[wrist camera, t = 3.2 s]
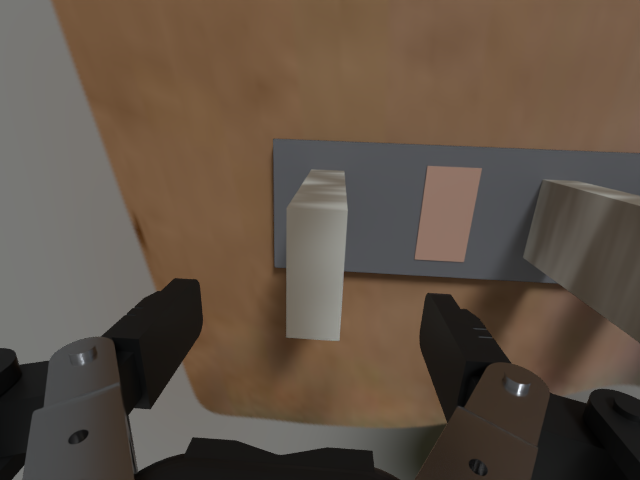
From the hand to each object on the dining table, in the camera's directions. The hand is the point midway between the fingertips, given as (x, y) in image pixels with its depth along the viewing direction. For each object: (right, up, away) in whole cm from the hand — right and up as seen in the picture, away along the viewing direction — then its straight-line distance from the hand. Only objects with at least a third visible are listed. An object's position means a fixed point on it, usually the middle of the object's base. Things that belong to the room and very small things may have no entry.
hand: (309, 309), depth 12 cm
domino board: (+21, +4, +14) cm, 25 cm away
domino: (+1, +5, +14) cm, 14 cm away
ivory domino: (+17, +4, +13) cm, 22 cm away
